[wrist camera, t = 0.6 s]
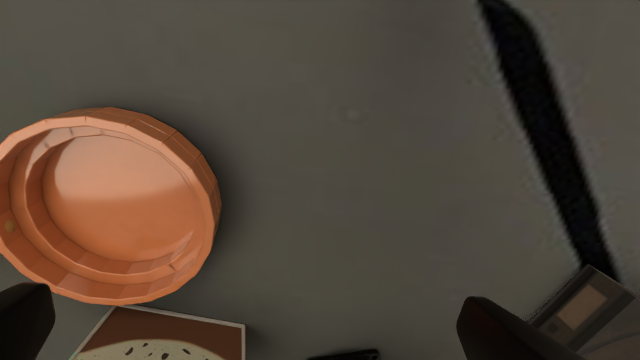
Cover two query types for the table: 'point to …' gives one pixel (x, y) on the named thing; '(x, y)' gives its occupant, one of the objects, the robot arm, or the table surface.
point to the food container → (161, 337)
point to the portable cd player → (593, 317)
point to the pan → (106, 205)
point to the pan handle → (10, 226)
